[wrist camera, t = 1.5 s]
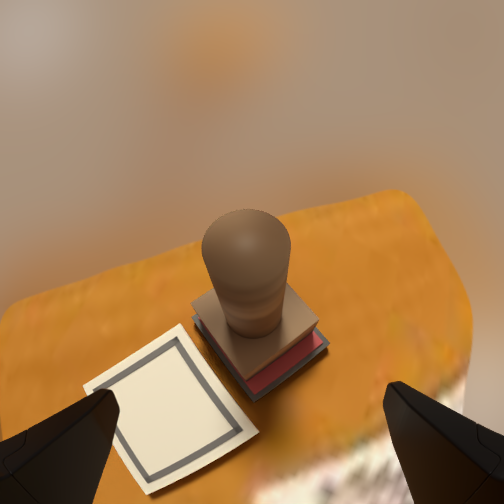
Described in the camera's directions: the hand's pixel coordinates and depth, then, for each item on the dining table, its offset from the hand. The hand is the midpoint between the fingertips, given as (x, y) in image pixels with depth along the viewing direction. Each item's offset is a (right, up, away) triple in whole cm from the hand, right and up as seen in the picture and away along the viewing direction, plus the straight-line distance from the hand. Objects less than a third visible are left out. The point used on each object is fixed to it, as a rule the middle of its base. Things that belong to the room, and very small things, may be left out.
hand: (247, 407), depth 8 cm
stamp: (0, -1, +13) cm, 13 cm away
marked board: (-6, -7, +11) cm, 14 cm away
